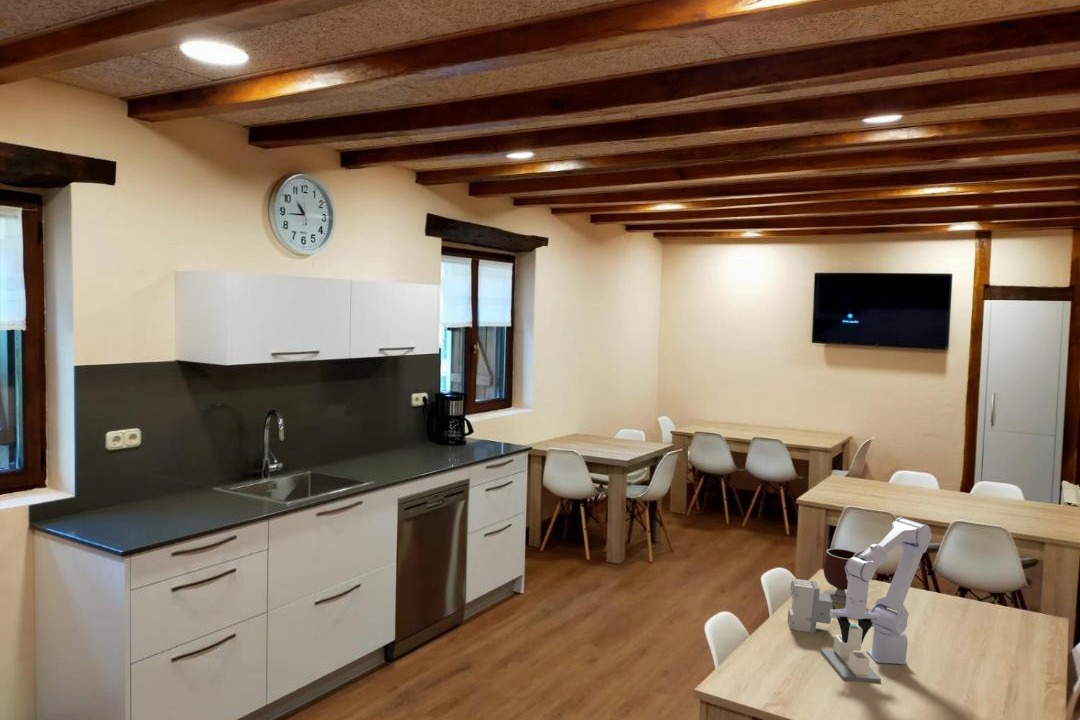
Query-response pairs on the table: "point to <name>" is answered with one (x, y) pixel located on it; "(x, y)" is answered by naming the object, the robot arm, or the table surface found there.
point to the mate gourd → (837, 572)
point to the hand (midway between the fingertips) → (852, 641)
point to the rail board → (845, 670)
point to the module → (854, 637)
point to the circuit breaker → (808, 606)
